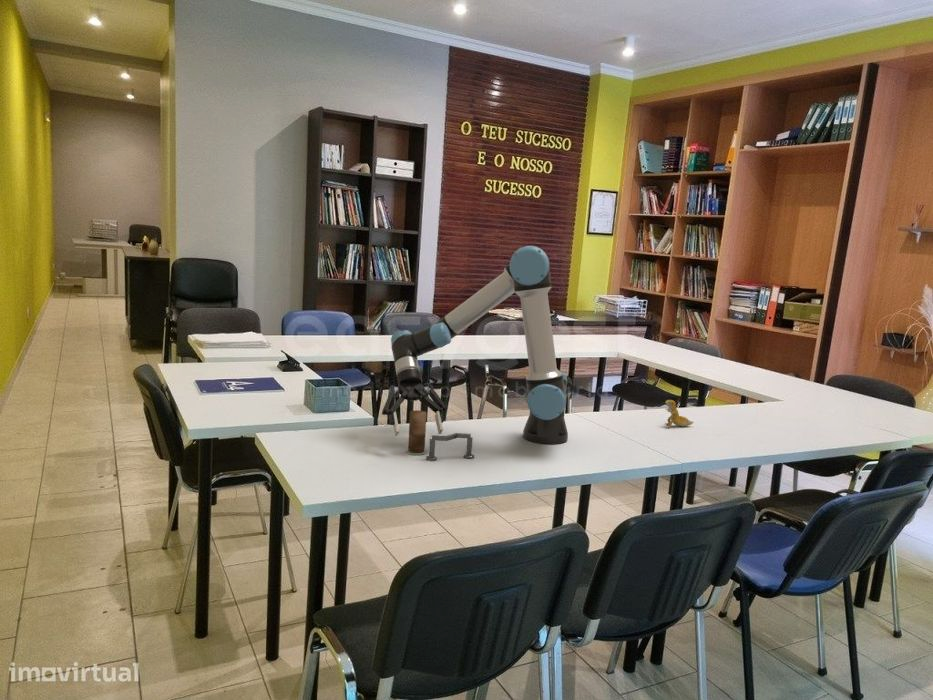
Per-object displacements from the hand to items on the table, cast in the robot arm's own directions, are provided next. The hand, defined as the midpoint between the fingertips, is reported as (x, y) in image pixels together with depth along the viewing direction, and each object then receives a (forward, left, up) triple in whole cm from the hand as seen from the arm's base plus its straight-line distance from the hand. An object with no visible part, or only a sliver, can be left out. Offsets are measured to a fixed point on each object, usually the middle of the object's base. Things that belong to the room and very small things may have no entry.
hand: (419, 432), depth 201 cm
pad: (+1, -2, -7) cm, 7 cm away
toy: (-94, -54, -7) cm, 109 cm away
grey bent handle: (-10, +2, -7) cm, 12 cm away
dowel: (+1, -2, -6) cm, 7 cm away
